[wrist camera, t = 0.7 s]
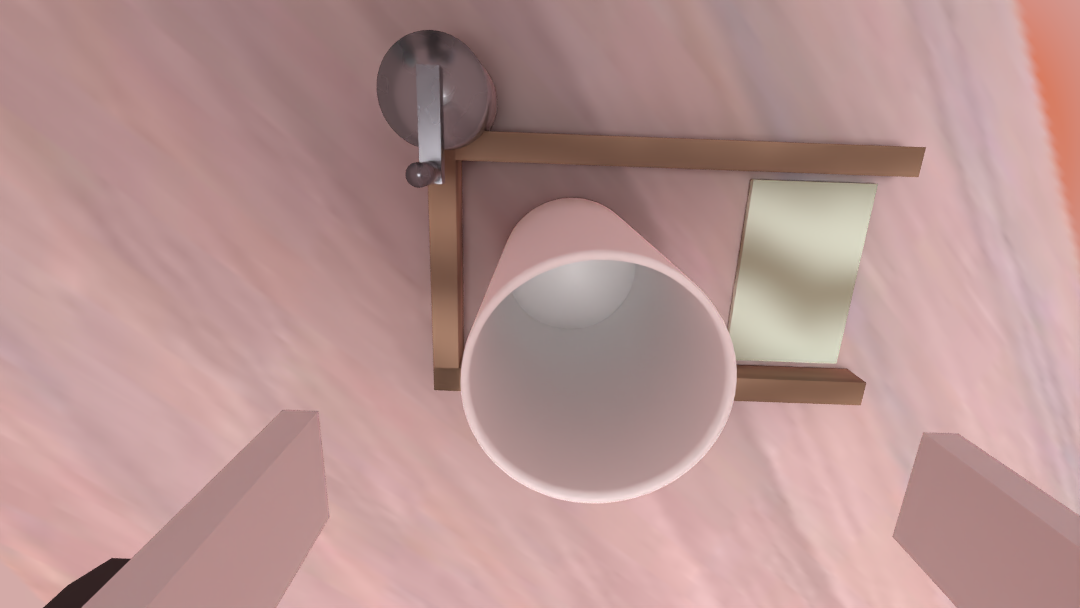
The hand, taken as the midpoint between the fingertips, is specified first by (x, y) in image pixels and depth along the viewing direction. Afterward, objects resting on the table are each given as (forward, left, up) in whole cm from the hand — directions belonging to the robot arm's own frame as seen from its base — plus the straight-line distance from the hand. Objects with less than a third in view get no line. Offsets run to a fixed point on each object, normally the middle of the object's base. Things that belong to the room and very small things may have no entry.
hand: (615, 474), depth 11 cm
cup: (0, 0, -20) cm, 20 cm away
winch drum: (-9, -7, -20) cm, 23 cm away
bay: (0, +5, -20) cm, 20 cm away
